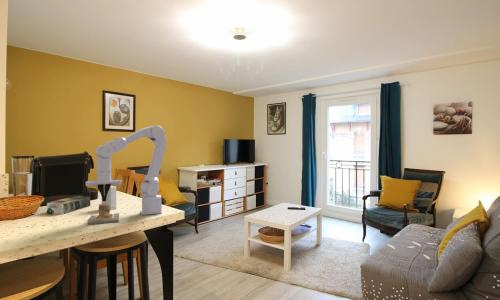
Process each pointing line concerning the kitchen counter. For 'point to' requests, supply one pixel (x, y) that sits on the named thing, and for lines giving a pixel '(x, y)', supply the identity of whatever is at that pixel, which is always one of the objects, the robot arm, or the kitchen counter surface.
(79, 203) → the juice carton
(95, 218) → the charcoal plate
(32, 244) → the kitchen counter surface
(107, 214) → the tan wooden block
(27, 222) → the kitchen counter surface
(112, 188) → the skincare box
